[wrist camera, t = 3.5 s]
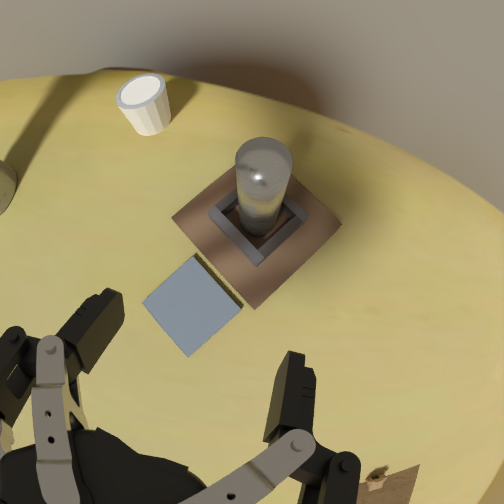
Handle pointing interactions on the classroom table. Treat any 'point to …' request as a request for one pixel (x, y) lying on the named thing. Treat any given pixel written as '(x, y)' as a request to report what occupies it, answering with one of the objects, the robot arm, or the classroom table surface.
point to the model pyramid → (388, 488)
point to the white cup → (145, 103)
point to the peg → (261, 183)
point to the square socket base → (255, 248)
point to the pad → (190, 306)
